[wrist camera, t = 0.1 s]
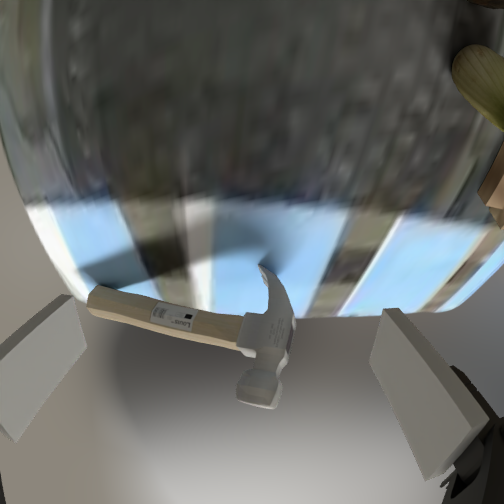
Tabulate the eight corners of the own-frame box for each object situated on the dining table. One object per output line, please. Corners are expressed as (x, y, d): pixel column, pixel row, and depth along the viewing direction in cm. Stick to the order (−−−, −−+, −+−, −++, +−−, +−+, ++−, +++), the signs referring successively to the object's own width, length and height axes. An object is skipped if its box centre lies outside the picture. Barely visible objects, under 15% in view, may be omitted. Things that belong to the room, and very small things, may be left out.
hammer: (88, 349, 35) (280, 411, 26) (68, 337, 32) (273, 407, 22) (125, 266, 44) (305, 286, 35) (110, 250, 41) (302, 266, 31)
